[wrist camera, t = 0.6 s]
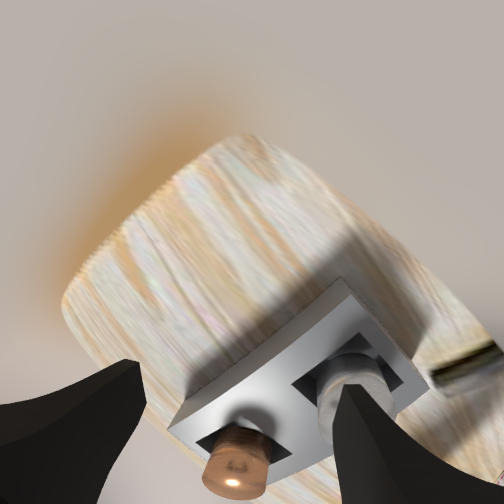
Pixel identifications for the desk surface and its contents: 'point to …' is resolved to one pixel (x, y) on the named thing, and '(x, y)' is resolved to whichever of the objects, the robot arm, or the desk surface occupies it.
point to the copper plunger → (238, 464)
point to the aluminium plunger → (349, 372)
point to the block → (295, 382)
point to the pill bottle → (501, 480)
